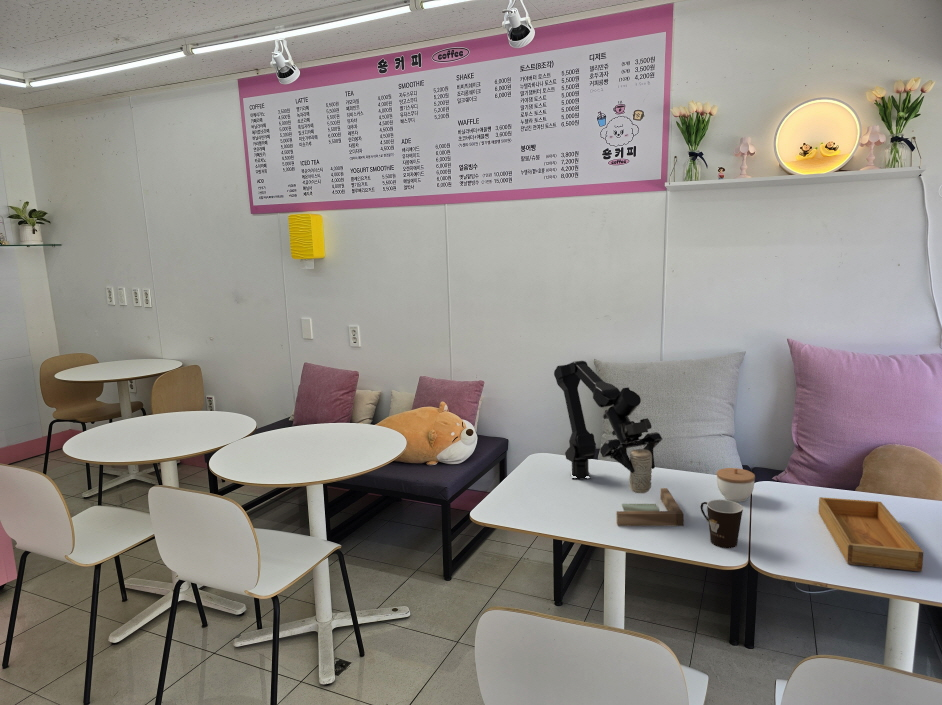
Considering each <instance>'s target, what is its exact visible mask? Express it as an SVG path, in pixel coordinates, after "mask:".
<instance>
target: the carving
mask: <svg viewBox="0 0 942 705" xmlns="http://www.w3.org/2000/svg"><path fill="white" fill-rule="evenodd" d="M629 455H630V457H629V459H630V461H631V463H632V465H633V468H634V470H635V472H634V473H632V472H630V471H629V481H628V483H629V485H628V486H629V489H630V491H632V492H633V493H635V494H646V493H648V492H649V491H650V489H651V488H652V482H651V481H652V473H653V472H652V470H653V469H652V455H651V452H650V451H649V450H645V449H642V448H639V449H633V450H631V451H630V454H629Z"/></svg>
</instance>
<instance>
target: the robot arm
mask: <svg viewBox="0 0 942 705" xmlns="http://www.w3.org/2000/svg"><path fill="white" fill-rule="evenodd" d="M553 375H554V377H555V380H556V385H557V386H558V387H559V388H560V389H561V390H562V392H563V396H564V399H565V404H566V405H565V406H566V410H567V415H568V418H569V419H568V420H569V423H570V427H571V435H570V437H569V447H568V449H567V450H565V453H564V456H565V459H566V460H567V461H569V462H570V463H571V471H572V475H573V476H576V477H577V478H585V477H586V476H589V477H591V475H589V474H590V472H589V460H594V459H595V457H596V451H597V444H596V441H595V435H594V433H592V432H591V433H590V431H589V430H588V429H587V425H586V421H585V416H584V412H583V407H582V403H581V398H580V394H579V389H578V388H579V385H580V382H582V383H583V384H584V385H585V386H586V387H587V388H588V389H589V390H590V391H591V393H592V399H593V401H594V402H595V403H596V405H597V406H598V407H599V408H607V407H609V408H608V409H606V410H604V414H603V418H602V419H604V420H607V419H608V422H609V423H610V426H611V427H612V430H613V431H611V434H612V436H615V437H616V438H614V439H610V440H609V439H608V440H606V441H605V442H604V443H603V445H602V446H601V447H600V448H599V449H600V450H599V451H600V455H601V457H602V458H608V457H609V458H610V459H613V460H615V461H616V462H618V463H619V464H620V465H622V466H623V467H624V468H626V469H627V471H629V473H630V472H632V473H634V472H635V470H634V468H633V465H632V463H631V461H630V457H629V455H628V451H627V449H629V448H634V447H635V448H636V447H641V448H640V449H645V450H649V451H650V452H651V455H652V470H654V469H655V466H656V465H655V458H654V457H655V456H654V448H656V446H658V445H659V443H661V442H662V441H663V437H662V436H661V434H660V432H658V431H657V432H656V431H655V432H654V431H653V432H650V433H649V430H650V429H652V424H651V421H650V419H649V418H648V417H647V418H643V419H640V420H639V421H638V422H635V421H634V420H632V421H631V419H630V418H629V416H631V415H632V413H634V411H635V410H636V409H637V408H638V407H639V406H640V404H641V400H642V399H641V397H640V395H639V394H638V393H637V392H635V391H633V390H631V389H630V388H629V387H622V389H621V391H620V389H619V388H618V387H617V386H615V385H614V384H611V383H608V382H606V381H604V380H603V379H602V378H601V377H600V376H599V375H598V373H596V372H595V371H594V370H593V368H591V367H590V366H589V364H588V362H587V361H586V360H575V361H572V362H570V363H568V364H562V365H561V364H560V365H557V366H556V368H555V369H554V372H553ZM642 433H646V435H644V436H643V434H642ZM642 436H643V438H641V437H642Z"/></svg>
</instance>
